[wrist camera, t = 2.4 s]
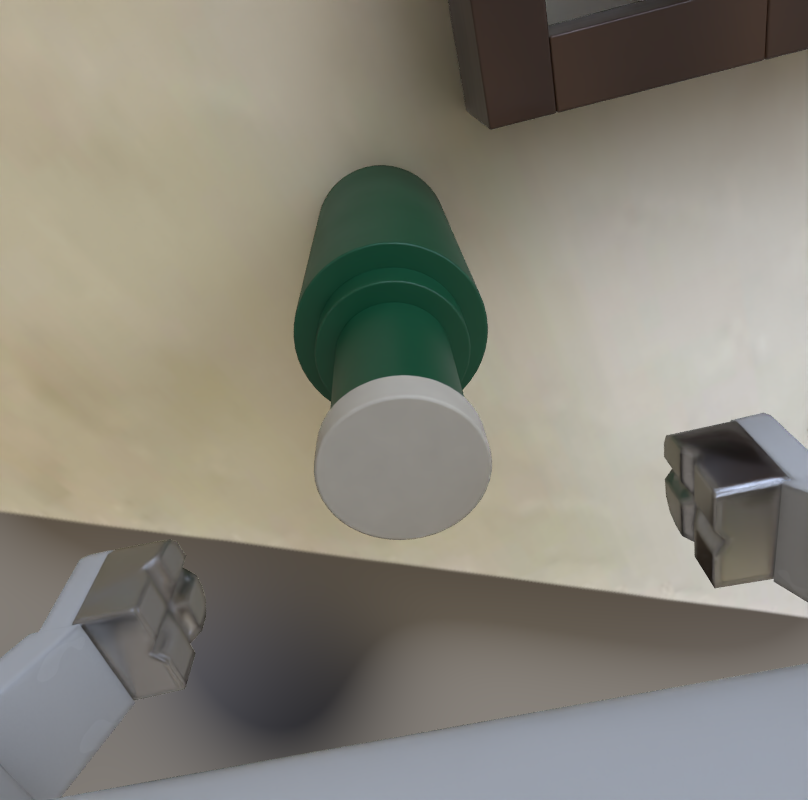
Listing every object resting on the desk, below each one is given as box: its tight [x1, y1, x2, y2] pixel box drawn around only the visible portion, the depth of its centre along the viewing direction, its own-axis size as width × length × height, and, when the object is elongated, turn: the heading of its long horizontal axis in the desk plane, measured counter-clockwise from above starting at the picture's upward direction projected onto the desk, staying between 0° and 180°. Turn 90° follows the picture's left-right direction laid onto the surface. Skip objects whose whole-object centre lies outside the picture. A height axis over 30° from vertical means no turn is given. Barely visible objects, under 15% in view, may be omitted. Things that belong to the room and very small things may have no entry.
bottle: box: [294, 165, 492, 540], centre depth 18 cm, size 5×5×16 cm
